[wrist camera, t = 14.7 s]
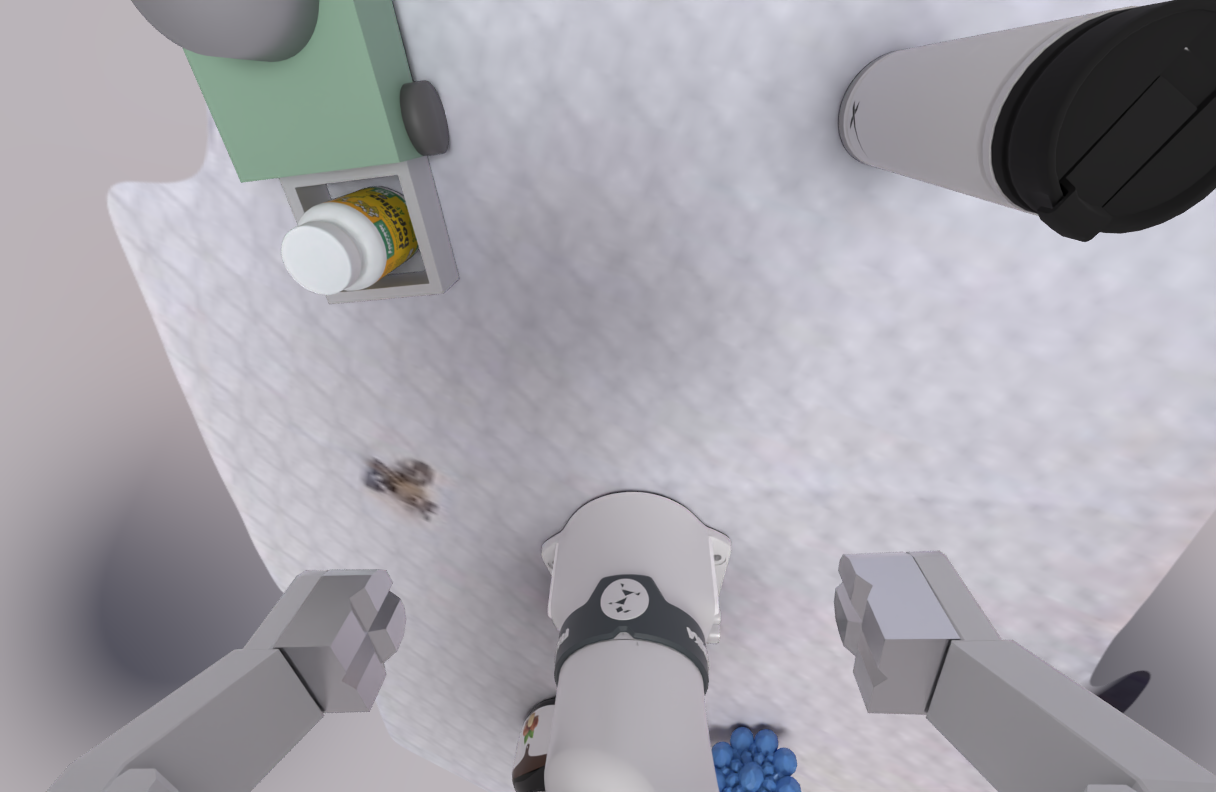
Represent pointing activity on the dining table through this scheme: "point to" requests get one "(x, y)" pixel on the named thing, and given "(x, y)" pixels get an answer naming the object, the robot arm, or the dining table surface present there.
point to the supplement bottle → (350, 241)
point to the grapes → (754, 763)
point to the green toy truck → (320, 108)
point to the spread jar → (533, 749)
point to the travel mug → (1053, 116)
